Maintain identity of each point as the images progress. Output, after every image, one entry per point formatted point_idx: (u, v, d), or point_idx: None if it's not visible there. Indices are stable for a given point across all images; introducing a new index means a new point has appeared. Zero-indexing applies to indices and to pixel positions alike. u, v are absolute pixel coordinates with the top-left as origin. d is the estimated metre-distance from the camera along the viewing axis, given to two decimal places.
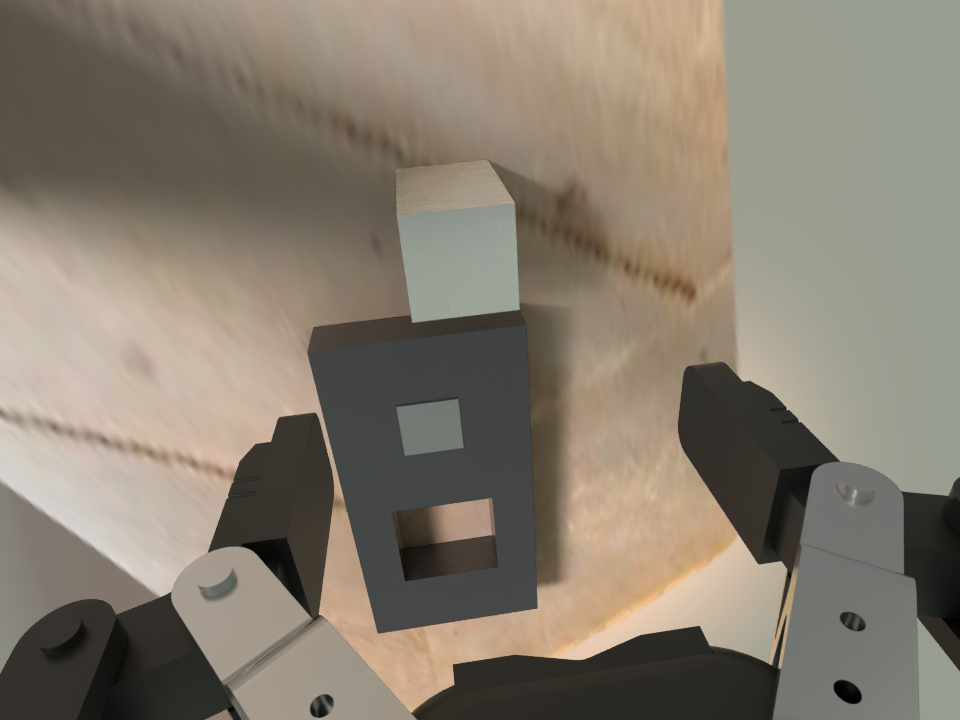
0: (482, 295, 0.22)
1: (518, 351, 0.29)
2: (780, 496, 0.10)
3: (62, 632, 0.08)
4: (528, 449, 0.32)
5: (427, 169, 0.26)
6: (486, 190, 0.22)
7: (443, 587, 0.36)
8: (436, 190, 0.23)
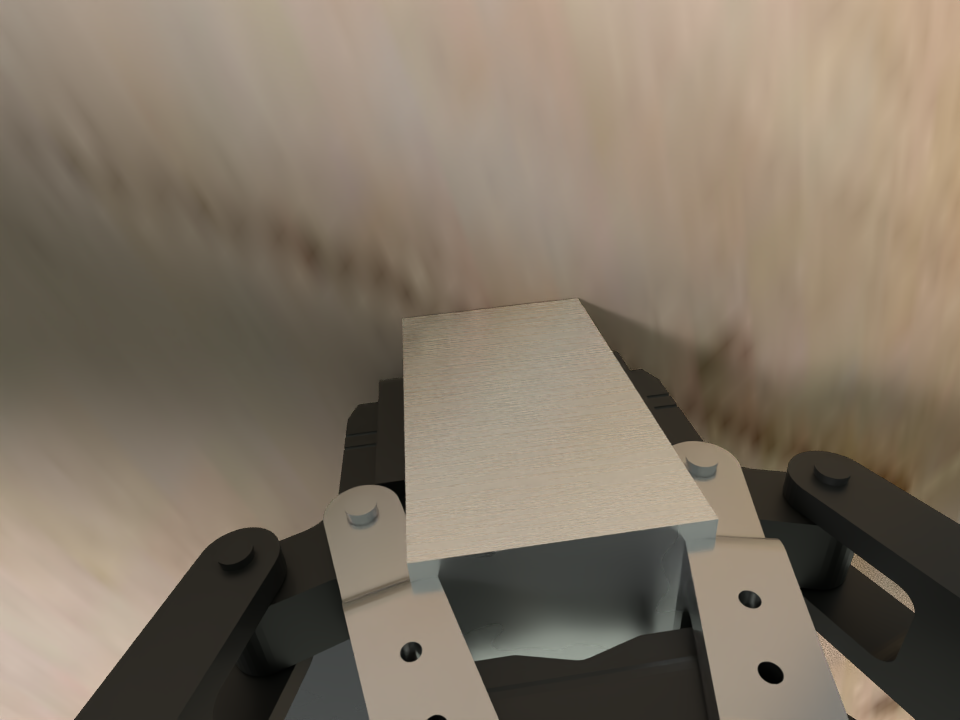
0: None
1: None
2: None
3: (237, 553, 0.09)
4: None
5: (464, 325, 0.13)
6: (616, 435, 0.09)
7: None
8: (496, 421, 0.10)
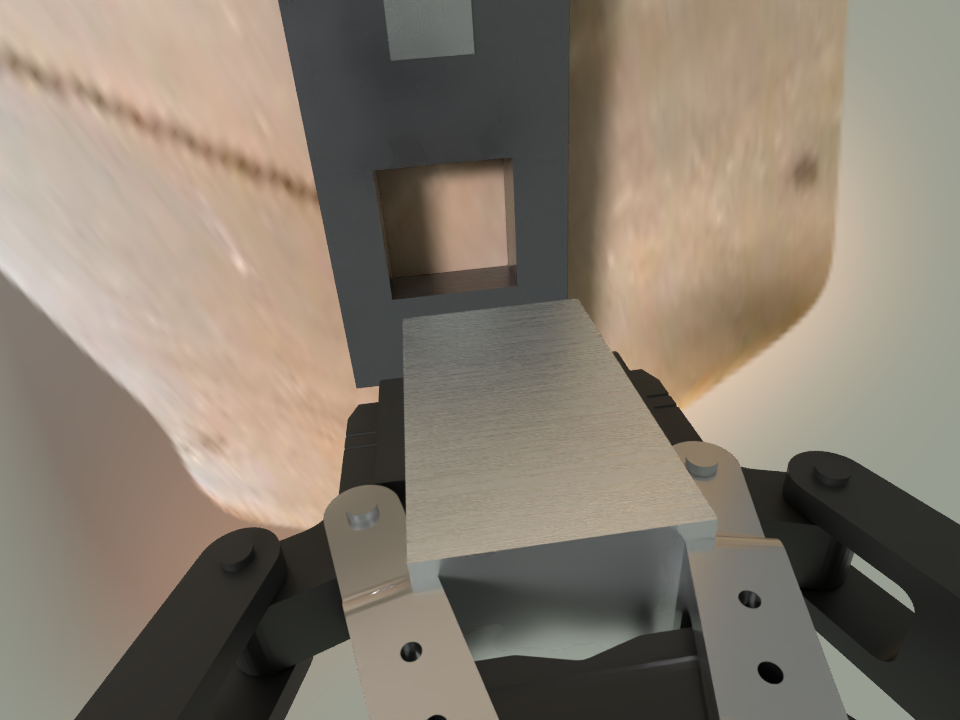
0: None
1: None
2: None
3: (237, 552, 0.09)
4: (564, 69, 0.23)
5: (464, 325, 0.13)
6: (615, 435, 0.09)
7: None
8: (496, 421, 0.10)
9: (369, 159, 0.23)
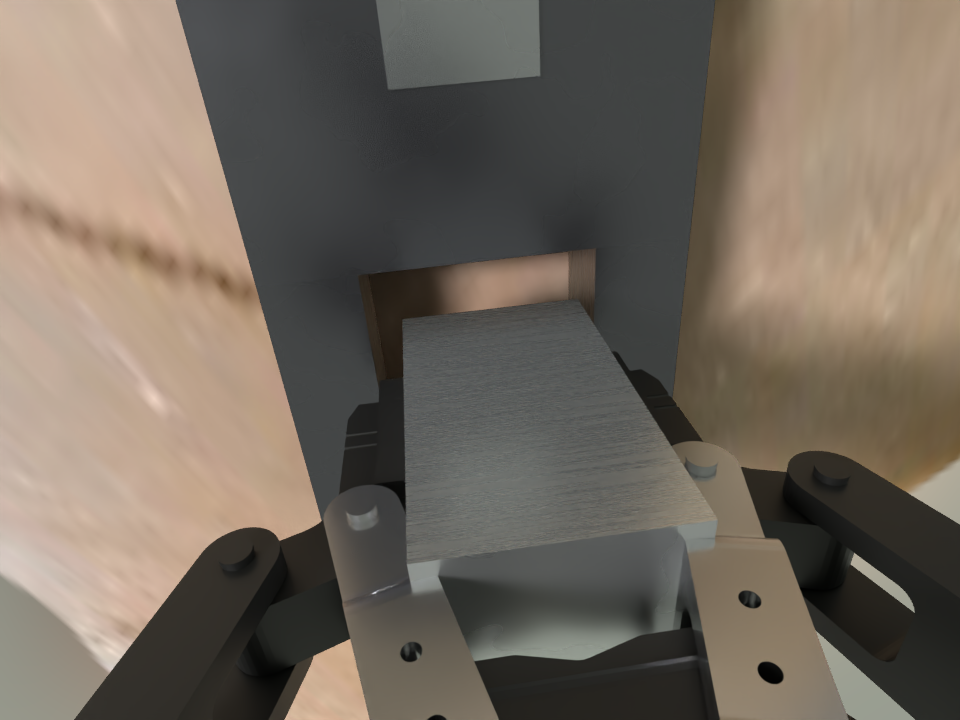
0: None
1: None
2: None
3: (237, 552, 0.09)
4: (697, 101, 0.13)
5: (464, 326, 0.13)
6: (615, 435, 0.09)
7: None
8: (495, 422, 0.10)
9: (352, 257, 0.13)
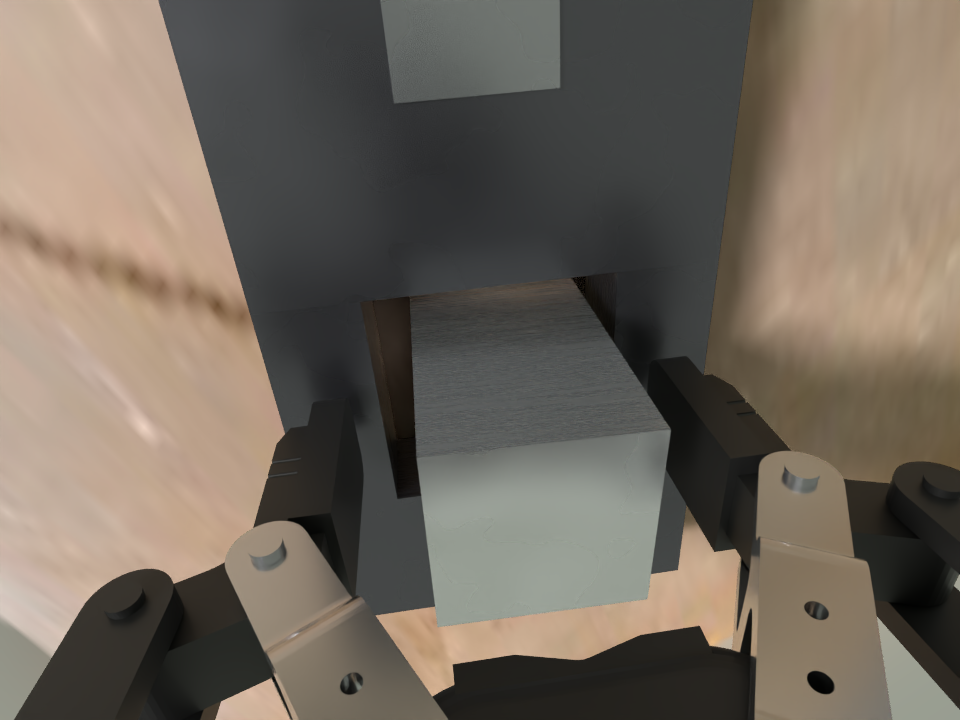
0: (580, 581, 0.11)
1: None
2: (732, 485, 0.10)
3: (125, 598, 0.08)
4: (730, 115, 0.12)
5: None
6: (592, 371, 0.11)
7: None
8: (490, 360, 0.12)
9: (354, 283, 0.12)
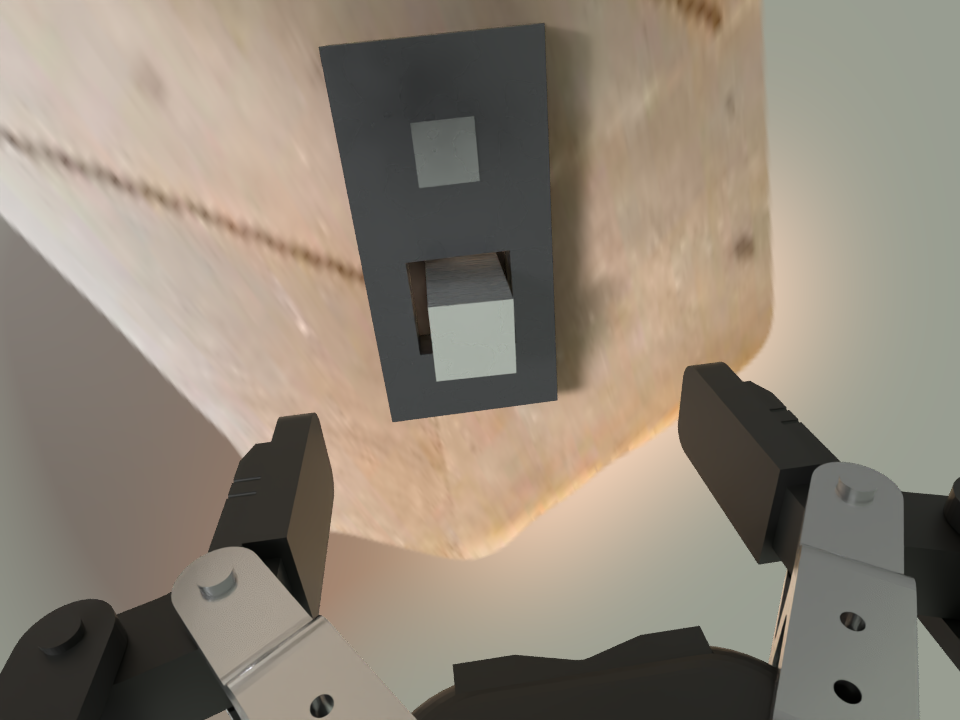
0: (488, 362, 0.30)
1: (536, 58, 0.28)
2: (780, 496, 0.10)
3: (63, 632, 0.08)
4: (547, 188, 0.30)
5: (449, 259, 0.34)
6: (493, 285, 0.30)
7: None
8: (456, 283, 0.30)
9: (403, 255, 0.31)
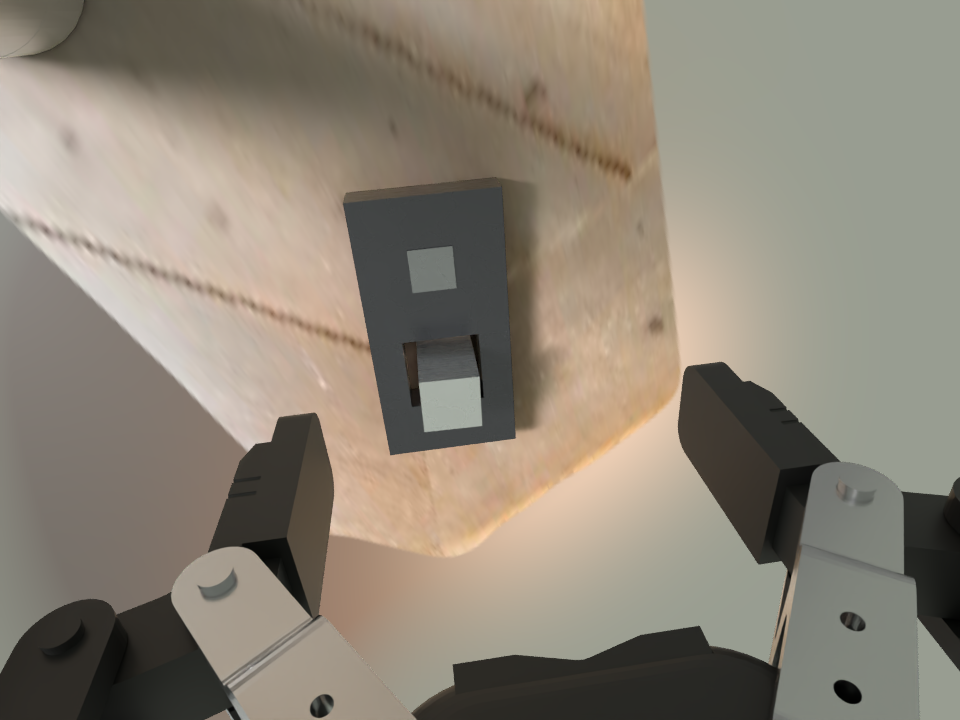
0: (462, 419, 0.41)
1: (496, 208, 0.39)
2: (780, 496, 0.10)
3: (63, 631, 0.08)
4: (505, 292, 0.42)
5: None
6: (465, 363, 0.41)
7: None
8: (439, 360, 0.42)
9: (400, 337, 0.43)
